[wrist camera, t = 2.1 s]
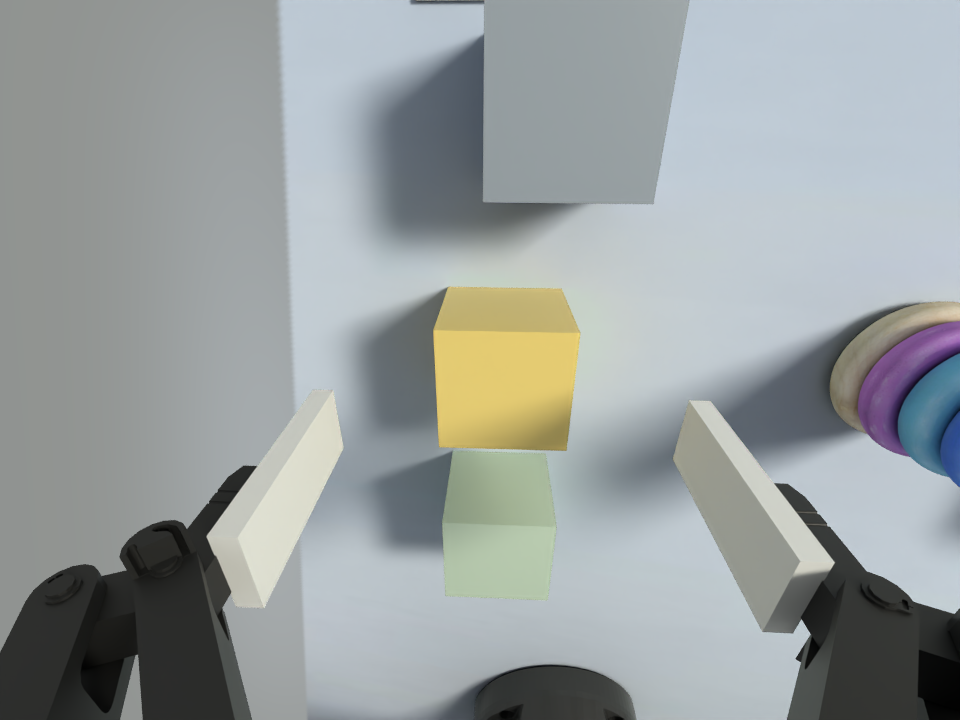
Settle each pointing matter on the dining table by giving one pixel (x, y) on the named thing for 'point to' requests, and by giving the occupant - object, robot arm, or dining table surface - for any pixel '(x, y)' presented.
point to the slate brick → (577, 98)
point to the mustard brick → (505, 368)
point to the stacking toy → (906, 385)
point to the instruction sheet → (447, 0)
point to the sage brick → (498, 526)
